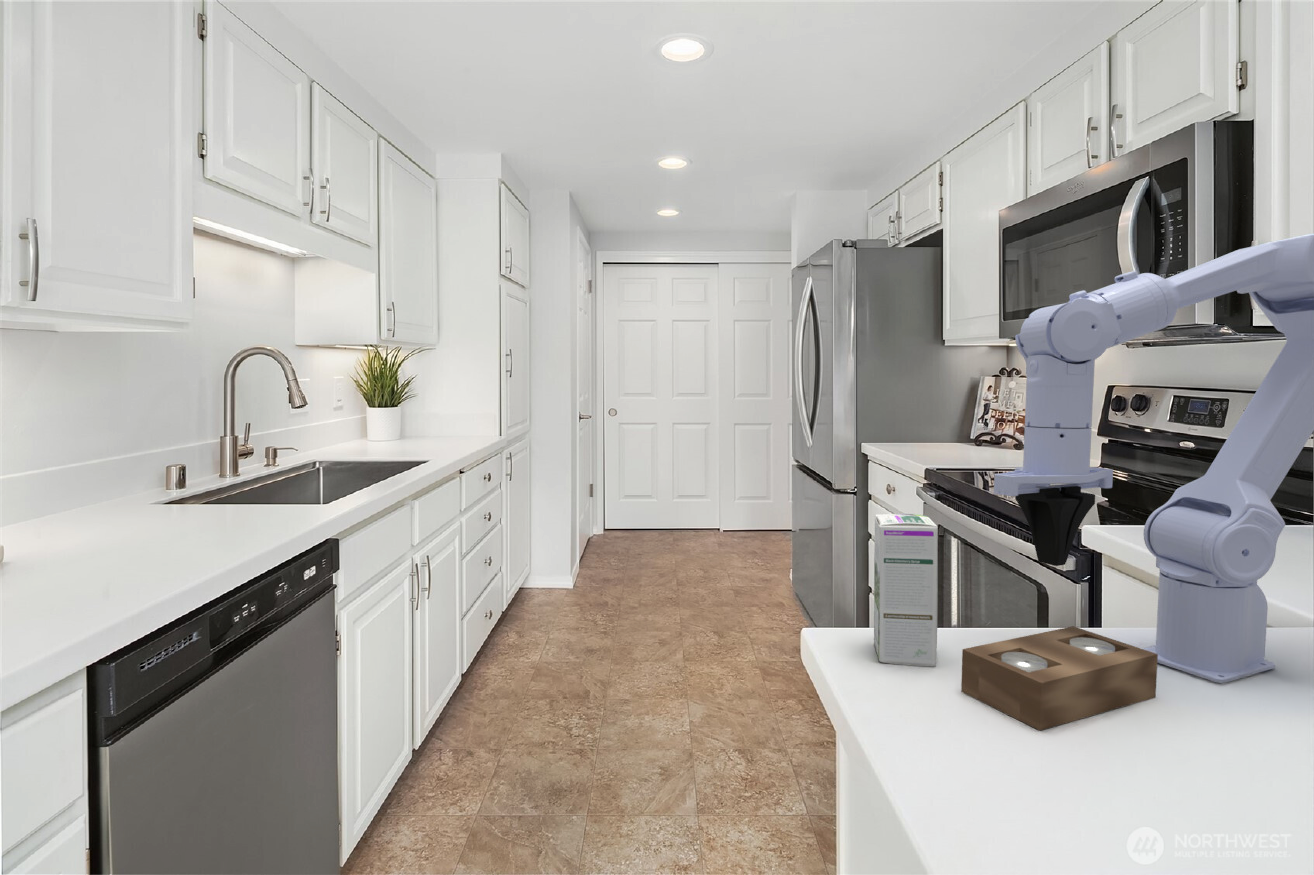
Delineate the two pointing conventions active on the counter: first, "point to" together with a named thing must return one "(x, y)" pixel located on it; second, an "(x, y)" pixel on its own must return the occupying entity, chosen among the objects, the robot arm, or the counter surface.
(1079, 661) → the walnut block
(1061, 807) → the counter surface
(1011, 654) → the outer pin
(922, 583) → the syrup box
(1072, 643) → the silver short cylinder
